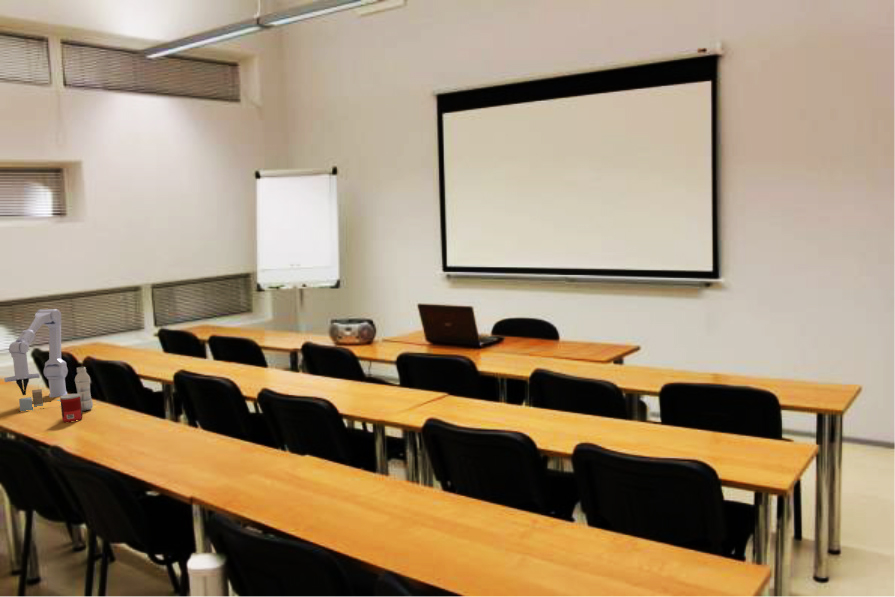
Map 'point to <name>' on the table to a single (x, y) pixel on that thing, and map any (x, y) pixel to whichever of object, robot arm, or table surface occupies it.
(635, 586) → the table surface
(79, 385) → the plastic bottle
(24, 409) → the gray block
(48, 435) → the table surface
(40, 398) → the walnut block
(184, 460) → the table surface
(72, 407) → the canned food
